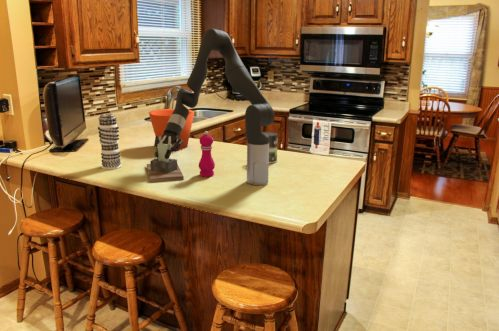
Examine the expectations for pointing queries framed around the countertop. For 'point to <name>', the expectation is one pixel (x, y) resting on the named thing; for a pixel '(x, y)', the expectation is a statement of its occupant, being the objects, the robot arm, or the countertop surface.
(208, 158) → the pepper mill
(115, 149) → the decorative candle
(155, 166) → the brown piece
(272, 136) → the coffee can
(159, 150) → the slat
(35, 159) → the countertop surface
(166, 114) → the flowerpot
